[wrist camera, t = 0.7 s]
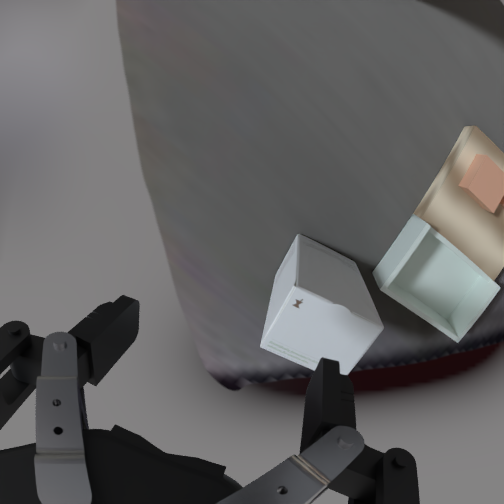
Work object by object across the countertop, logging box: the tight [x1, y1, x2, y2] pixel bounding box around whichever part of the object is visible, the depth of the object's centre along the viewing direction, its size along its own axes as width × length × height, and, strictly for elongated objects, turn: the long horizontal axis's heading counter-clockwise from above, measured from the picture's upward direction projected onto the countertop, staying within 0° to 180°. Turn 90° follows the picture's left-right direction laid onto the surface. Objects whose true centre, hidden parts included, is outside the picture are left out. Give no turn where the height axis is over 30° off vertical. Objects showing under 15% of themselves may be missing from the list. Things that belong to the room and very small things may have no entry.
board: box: [413, 126, 504, 281], centre depth 30 cm, size 13×14×3 cm
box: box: [372, 214, 501, 343], centre depth 33 cm, size 9×14×5 cm, turn 60°
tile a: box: [459, 154, 504, 213], centre depth 27 cm, size 4×4×2 cm
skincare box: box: [260, 234, 384, 375], centre depth 31 cm, size 8×7×16 cm
